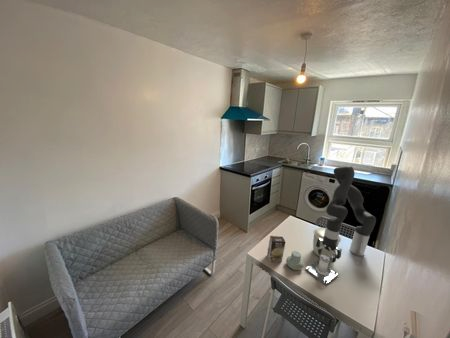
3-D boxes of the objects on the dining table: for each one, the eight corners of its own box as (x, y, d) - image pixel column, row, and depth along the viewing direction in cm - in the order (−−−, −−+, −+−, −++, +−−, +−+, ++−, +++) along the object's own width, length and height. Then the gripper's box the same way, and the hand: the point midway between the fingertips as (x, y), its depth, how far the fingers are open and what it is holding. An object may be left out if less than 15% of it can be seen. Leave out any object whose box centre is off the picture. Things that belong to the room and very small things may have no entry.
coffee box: (269, 261, 131) (272, 241, 127) (266, 255, 137) (269, 235, 133) (282, 262, 132) (285, 241, 127) (279, 255, 138) (282, 236, 134)
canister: (329, 247, 151) (335, 223, 145) (340, 264, 133) (347, 238, 128) (306, 244, 152) (311, 221, 147) (314, 260, 135) (320, 234, 129)
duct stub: (315, 268, 124) (318, 257, 122) (320, 265, 128) (322, 254, 125) (324, 274, 120) (326, 262, 118) (328, 271, 123) (331, 259, 121)
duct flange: (317, 262, 134) (317, 259, 133) (337, 275, 123) (338, 272, 122) (305, 269, 126) (306, 267, 125) (326, 285, 115) (327, 282, 114)
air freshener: (298, 261, 133) (300, 249, 131) (304, 270, 125) (307, 257, 123) (283, 262, 131) (285, 249, 129) (289, 271, 124) (291, 258, 121)
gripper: (316, 231, 120) (312, 253, 124) (340, 243, 109) (334, 267, 113) (323, 228, 124) (318, 249, 128) (346, 239, 113) (340, 262, 117)
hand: (326, 257), depth 121 cm, fingers open, 8 cm apart
